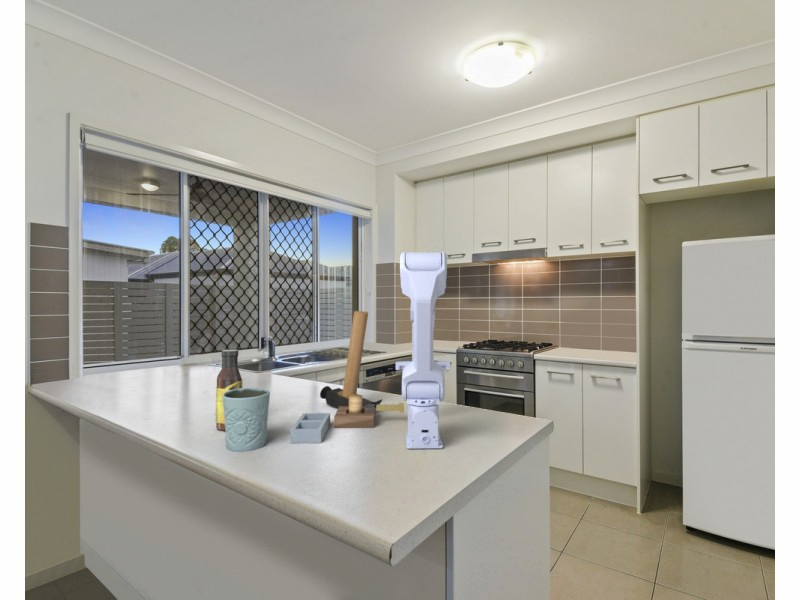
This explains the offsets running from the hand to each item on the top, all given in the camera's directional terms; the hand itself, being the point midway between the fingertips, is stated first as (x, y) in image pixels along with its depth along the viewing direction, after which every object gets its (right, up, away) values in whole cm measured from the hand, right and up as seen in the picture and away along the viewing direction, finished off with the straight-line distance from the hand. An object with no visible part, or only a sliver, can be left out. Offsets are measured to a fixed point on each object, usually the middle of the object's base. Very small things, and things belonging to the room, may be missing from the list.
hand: (422, 396), depth 112 cm
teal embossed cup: (-41, -7, -18) cm, 45 cm away
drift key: (-9, -4, 0) cm, 10 cm away
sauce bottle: (-50, -7, -5) cm, 51 cm away
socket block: (-18, -7, 0) cm, 19 cm away
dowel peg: (-18, -7, 0) cm, 19 cm away
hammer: (-21, -7, +14) cm, 26 cm away
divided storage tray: (-28, -7, -10) cm, 30 cm away
